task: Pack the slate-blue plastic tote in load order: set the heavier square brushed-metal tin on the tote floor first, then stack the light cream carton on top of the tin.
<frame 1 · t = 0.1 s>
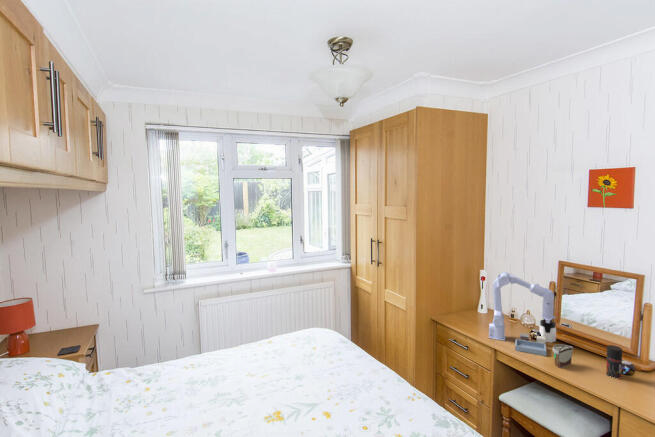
hand: (547, 330, 207), 10 cm above the table, fingers open, 7 cm apart
deodorant: (613, 375, 173), on the table
carton: (540, 344, 210), on the table
tote: (530, 349, 204), on the table
jar: (547, 340, 216), on the table
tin: (524, 341, 215), on the table
food container: (559, 364, 187), on the table
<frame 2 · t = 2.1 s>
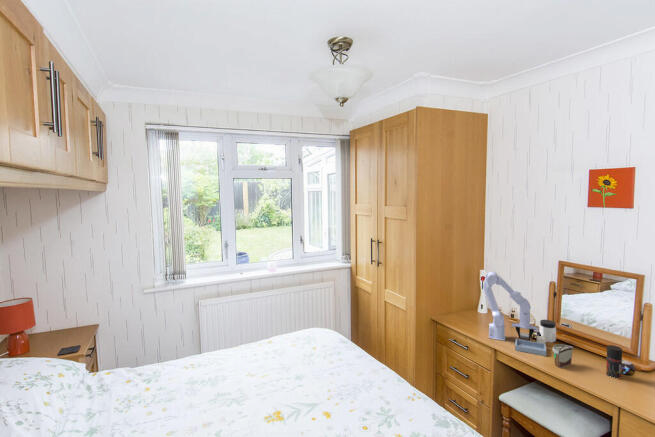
hand: (524, 339, 215), 1 cm above the table, fingers closed on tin, 5 cm apart
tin: (524, 341, 215), on the table, touching gripper
everything else where it was.
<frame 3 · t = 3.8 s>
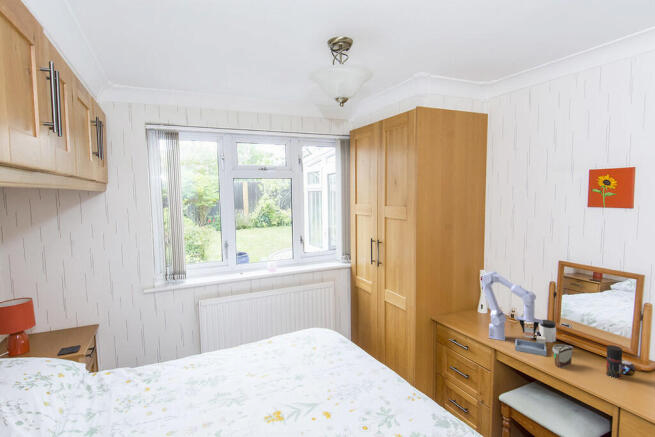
hand: (528, 333, 207), 9 cm above the table, fingers closed on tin, 5 cm apart
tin: (528, 336, 207), point 7 cm above the table, touching gripper
everything else where it was.
when the fingers open (3 cm above the table, at t = 5.6 s): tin stays where it is, resting on tote.
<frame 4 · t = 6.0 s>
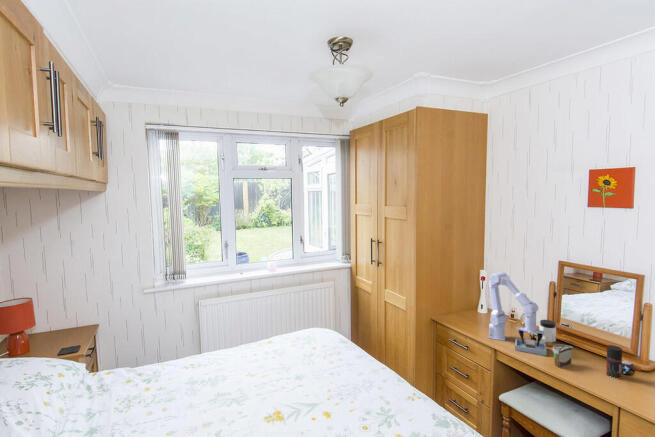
hand: (530, 344, 204), 3 cm above the table, fingers open, 7 cm apart
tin: (530, 348, 204), resting on tote
everything else where it was.
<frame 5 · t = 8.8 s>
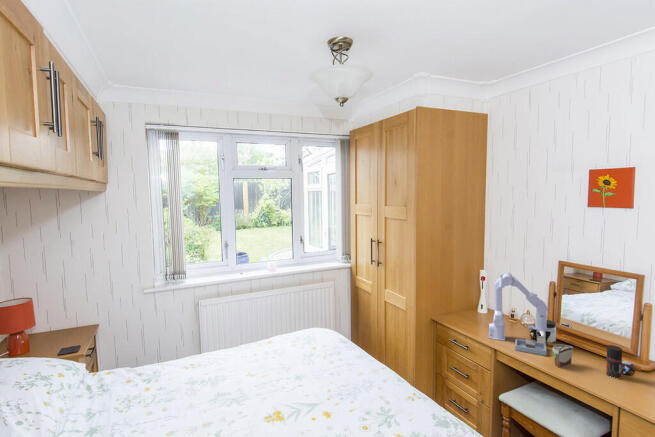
hand: (540, 341, 210), 1 cm above the table, fingers closed on carton, 4 cm apart
carton: (540, 344, 210), on the table, touching gripper
everything else where it was.
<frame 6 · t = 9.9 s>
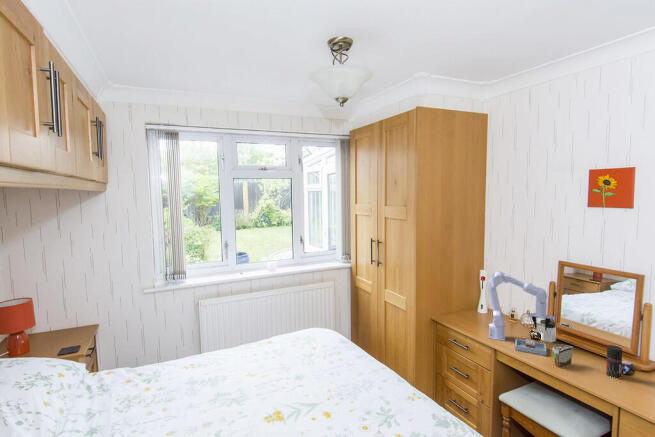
hand: (540, 329, 209), 10 cm above the table, fingers closed on carton, 4 cm apart
carton: (540, 331, 210), point 8 cm above the table, touching gripper
everything else where it was.
when the fingers open (8 cm above the table, at t = 11.5 s): carton drops 1 cm, resting on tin.
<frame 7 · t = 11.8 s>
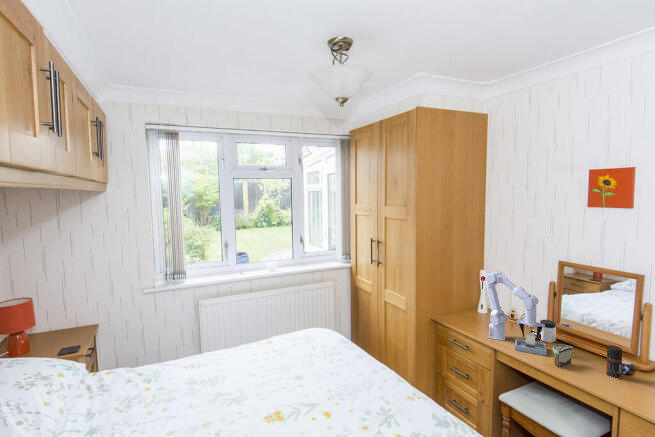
hand: (530, 337, 203), 8 cm above the table, fingers open, 7 cm apart
carton: (530, 341, 204), point 5 cm above the table, touching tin
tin: (530, 348, 204), resting on tote, touching carton
everything else where it was.
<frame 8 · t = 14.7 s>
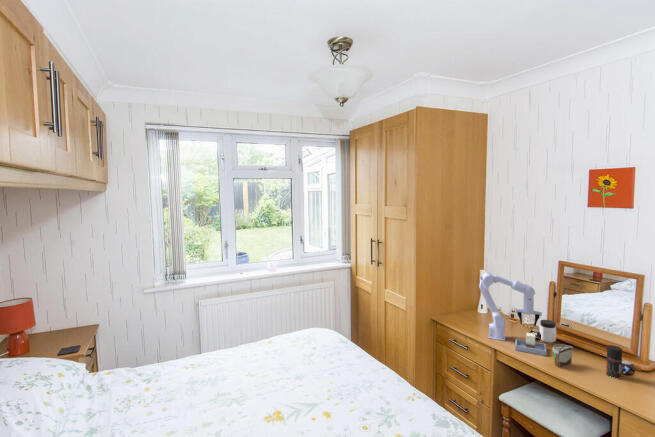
hand: (528, 324, 216), 10 cm above the table, fingers open, 7 cm apart
nothing on the table moved.
at the end: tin inside the target area on the tote (0.4 cm from its centre), point 0.4 cm above the tote's base; carton 0.4 cm off-centre on the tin, point 4.5 cm above the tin's base; carton tilted 0° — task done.
